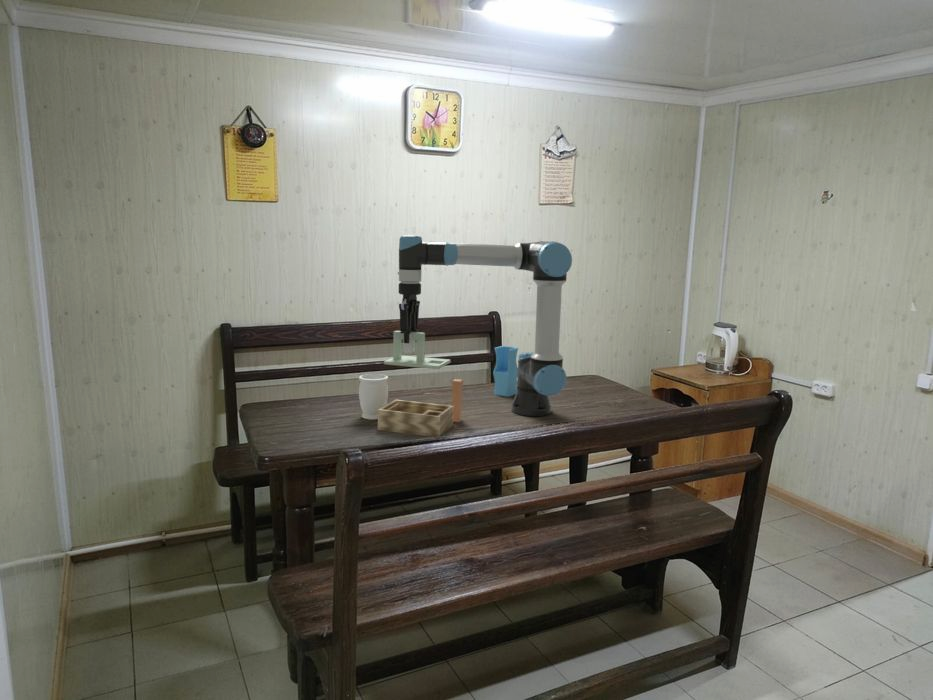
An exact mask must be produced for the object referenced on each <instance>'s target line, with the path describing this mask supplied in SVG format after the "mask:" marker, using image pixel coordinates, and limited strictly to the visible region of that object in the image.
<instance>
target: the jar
mask: <svg viewBox="0 0 933 700" xmlns="http://www.w3.org/2000/svg"><path fill="white" fill-rule="evenodd" d="M358 380H359V381H360V383H359V386H358V399H359V404H360V408H361V412H362V414H361V418H363V419H365V420H372V421H373V420H375V421H376V420H378V409H380V408H382V407H383V406H385V405H387V404H388V399H389V386H388V380H389V376H388V375H386V374H380V373H378V374H377V373H366V374H361V375H359V376H358Z"/></svg>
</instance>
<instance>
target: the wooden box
mask: <svg viewBox="0 0 933 700" xmlns="http://www.w3.org/2000/svg"><path fill="white" fill-rule="evenodd" d="M453 410H454V406H452V405H449V404H448V405H447V404H440V403H438V404H437V403H431V402H422V401H421V402H420V401H415V400H414V401H413V400H403V399H394V400H392V401H390V402H389V403H387V405H385V406H383V407H382V408H380V409H378V419H377V430H378V431H385V432H393V433H401V434H409V435H415V436H416V435H418V436H424V437H430V438H431V437H433V438H440V437H441V436H443V434H445V433H446V432H447V431H449V429H450V428H452V427H453V426H454V422H453Z"/></svg>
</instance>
